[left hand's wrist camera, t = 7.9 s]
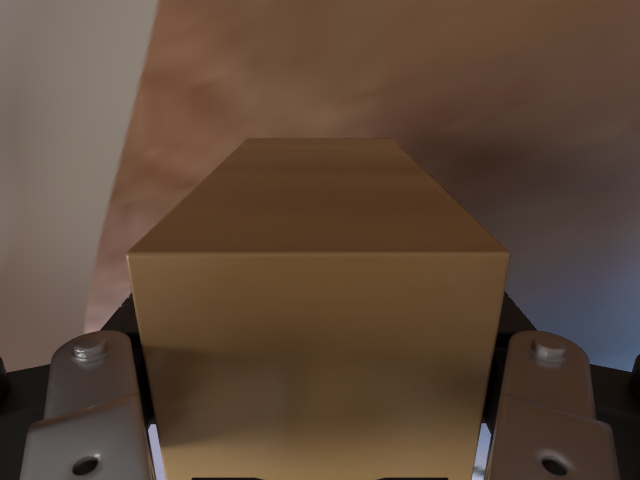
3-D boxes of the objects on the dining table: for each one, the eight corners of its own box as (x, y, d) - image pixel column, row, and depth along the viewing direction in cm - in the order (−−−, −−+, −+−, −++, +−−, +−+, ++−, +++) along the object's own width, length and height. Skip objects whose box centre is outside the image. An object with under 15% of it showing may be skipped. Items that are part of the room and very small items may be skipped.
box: (246, 138, 18) (122, 252, 7) (392, 138, 18) (513, 252, 7) (268, 484, 26) (226, 818, 14) (371, 484, 26) (413, 818, 14)
